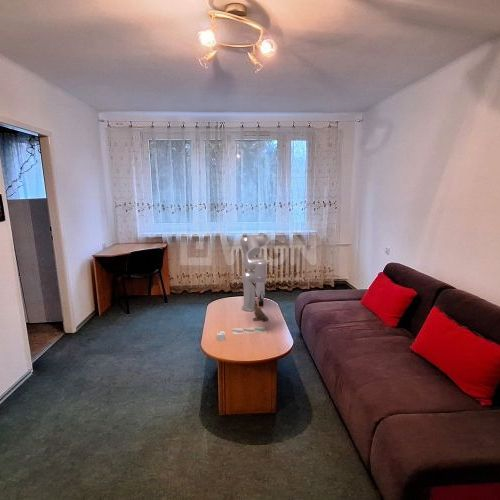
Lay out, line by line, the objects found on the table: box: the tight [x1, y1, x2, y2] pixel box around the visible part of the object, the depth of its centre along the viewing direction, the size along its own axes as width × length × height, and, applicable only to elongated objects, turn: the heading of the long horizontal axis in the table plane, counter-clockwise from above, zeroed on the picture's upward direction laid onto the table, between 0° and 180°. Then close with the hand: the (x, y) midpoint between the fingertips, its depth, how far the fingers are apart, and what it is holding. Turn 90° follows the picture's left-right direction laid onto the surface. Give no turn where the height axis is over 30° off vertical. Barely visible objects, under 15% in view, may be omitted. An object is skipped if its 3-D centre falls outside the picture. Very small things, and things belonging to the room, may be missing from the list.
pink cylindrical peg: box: [256, 296, 265, 309], centre depth 220 cm, size 4×4×12 cm
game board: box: [231, 326, 269, 335], centre depth 224 cm, size 11×25×1 cm, turn 98°
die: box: [216, 330, 226, 342], centre depth 211 cm, size 5×5×5 cm
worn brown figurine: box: [252, 299, 269, 323], centre depth 240 cm, size 12×6×18 cm, turn 94°
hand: (260, 304), depth 221 cm, fingers closed on pink cylindrical peg, 4 cm apart
